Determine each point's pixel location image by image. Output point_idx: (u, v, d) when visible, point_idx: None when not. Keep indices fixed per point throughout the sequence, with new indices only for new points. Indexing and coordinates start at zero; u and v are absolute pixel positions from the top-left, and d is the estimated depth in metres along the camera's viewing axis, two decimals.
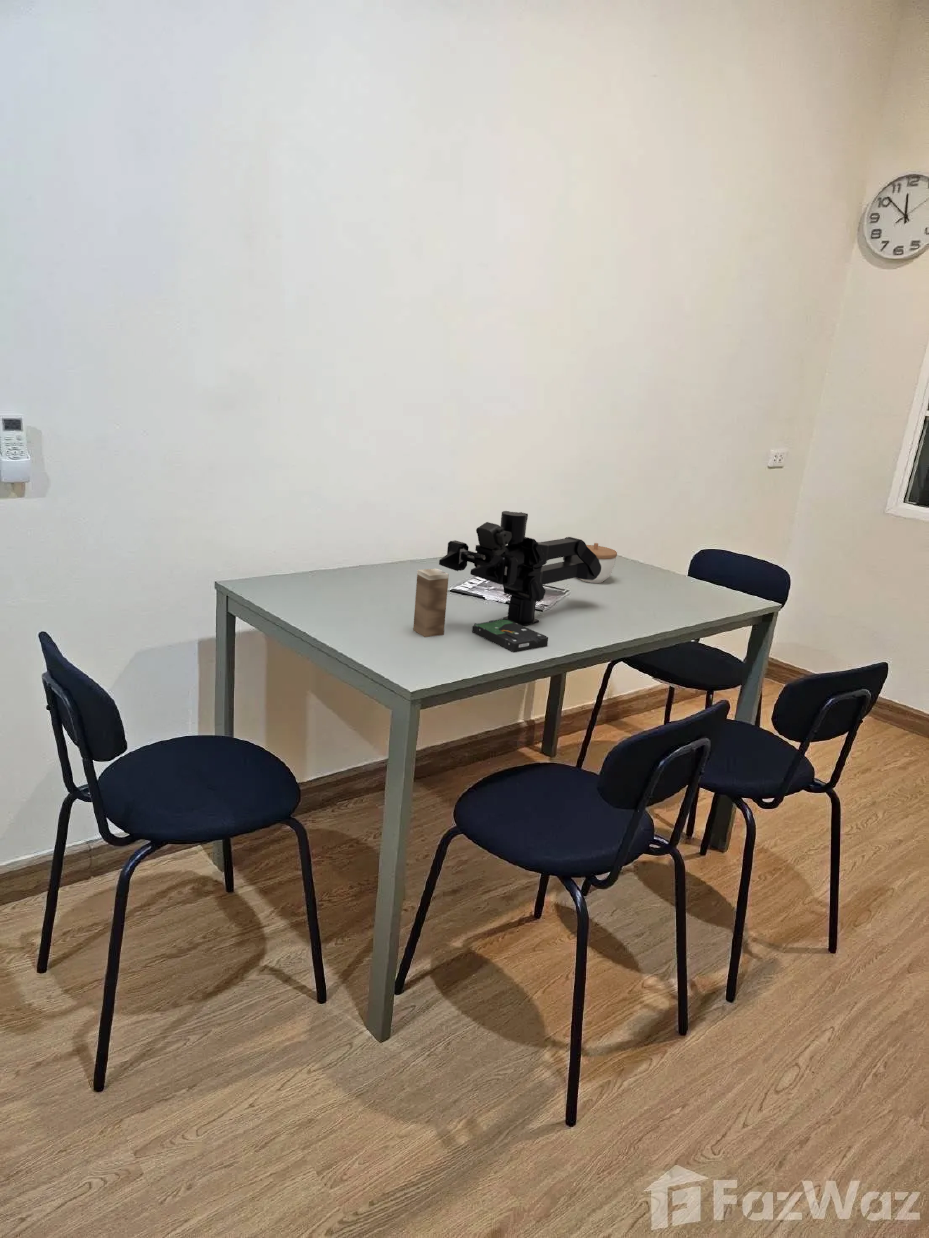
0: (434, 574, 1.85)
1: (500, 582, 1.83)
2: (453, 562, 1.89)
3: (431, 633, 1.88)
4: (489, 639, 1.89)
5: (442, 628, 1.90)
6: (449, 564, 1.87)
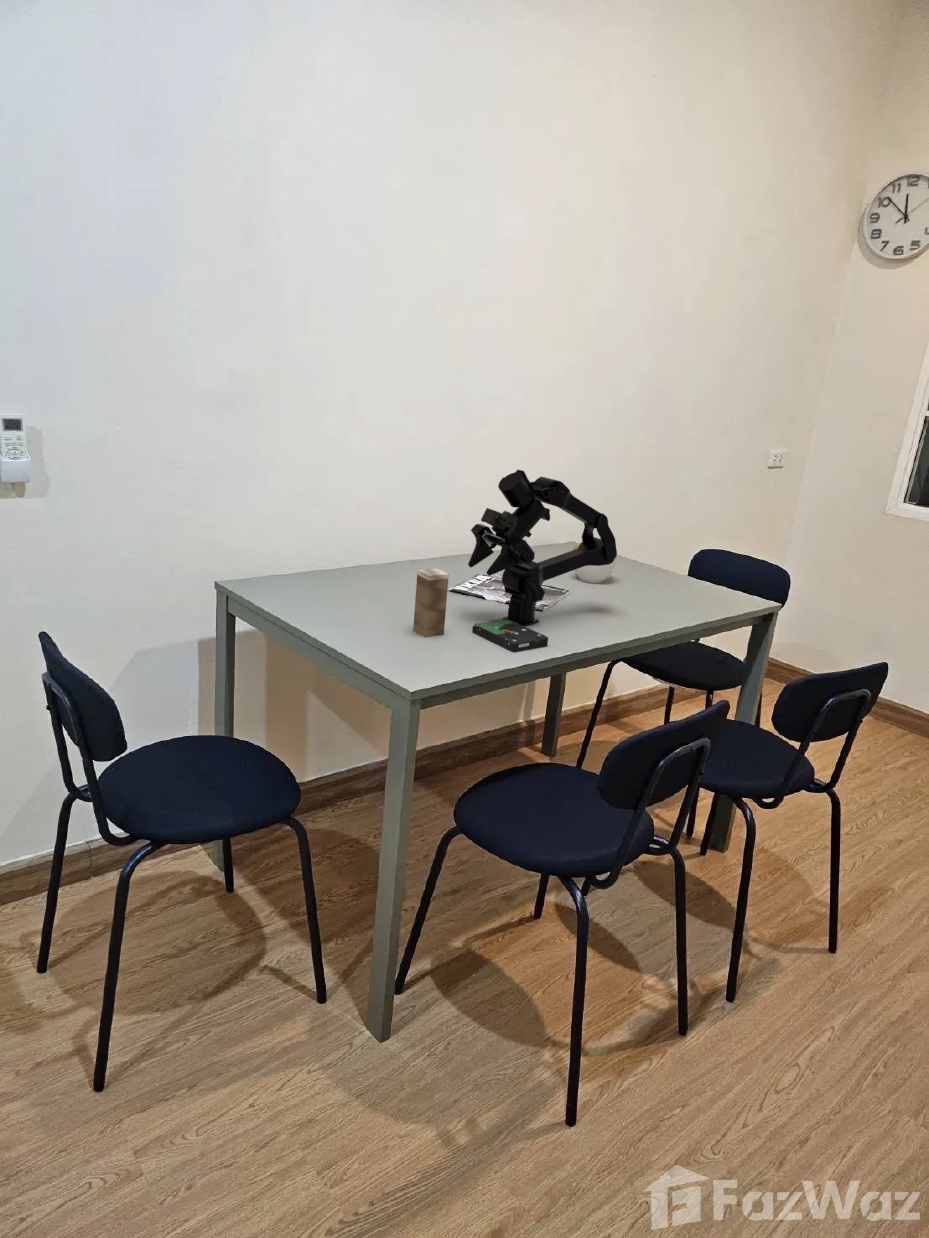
0: (434, 574, 1.85)
1: (519, 563, 1.91)
2: (483, 552, 1.98)
3: (431, 633, 1.88)
4: (489, 639, 1.89)
5: (442, 628, 1.90)
6: (480, 558, 1.98)
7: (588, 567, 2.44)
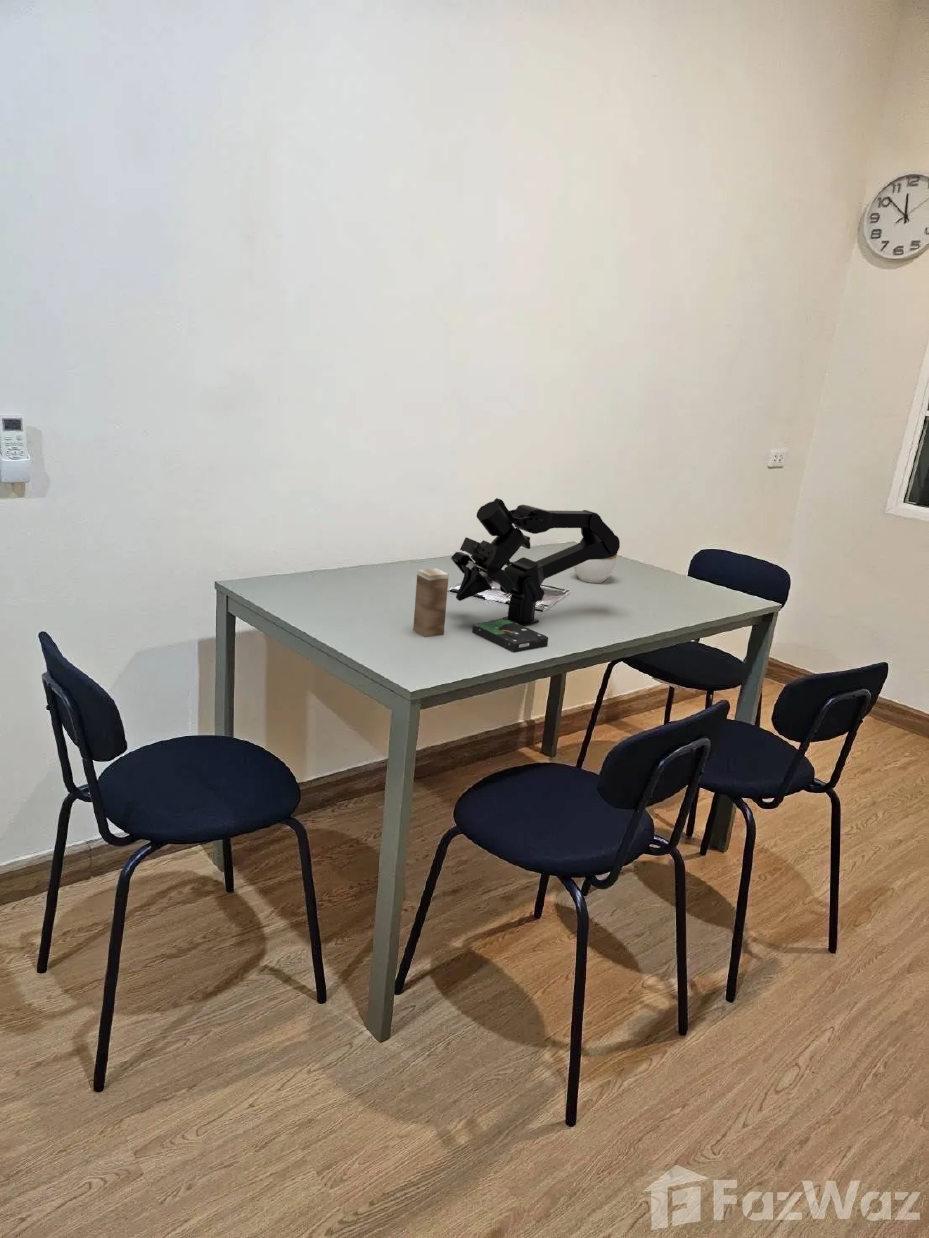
0: (434, 574, 1.85)
1: (489, 589, 1.93)
2: None
3: (431, 633, 1.88)
4: (489, 639, 1.89)
5: (442, 628, 1.90)
6: None
7: (588, 567, 2.44)
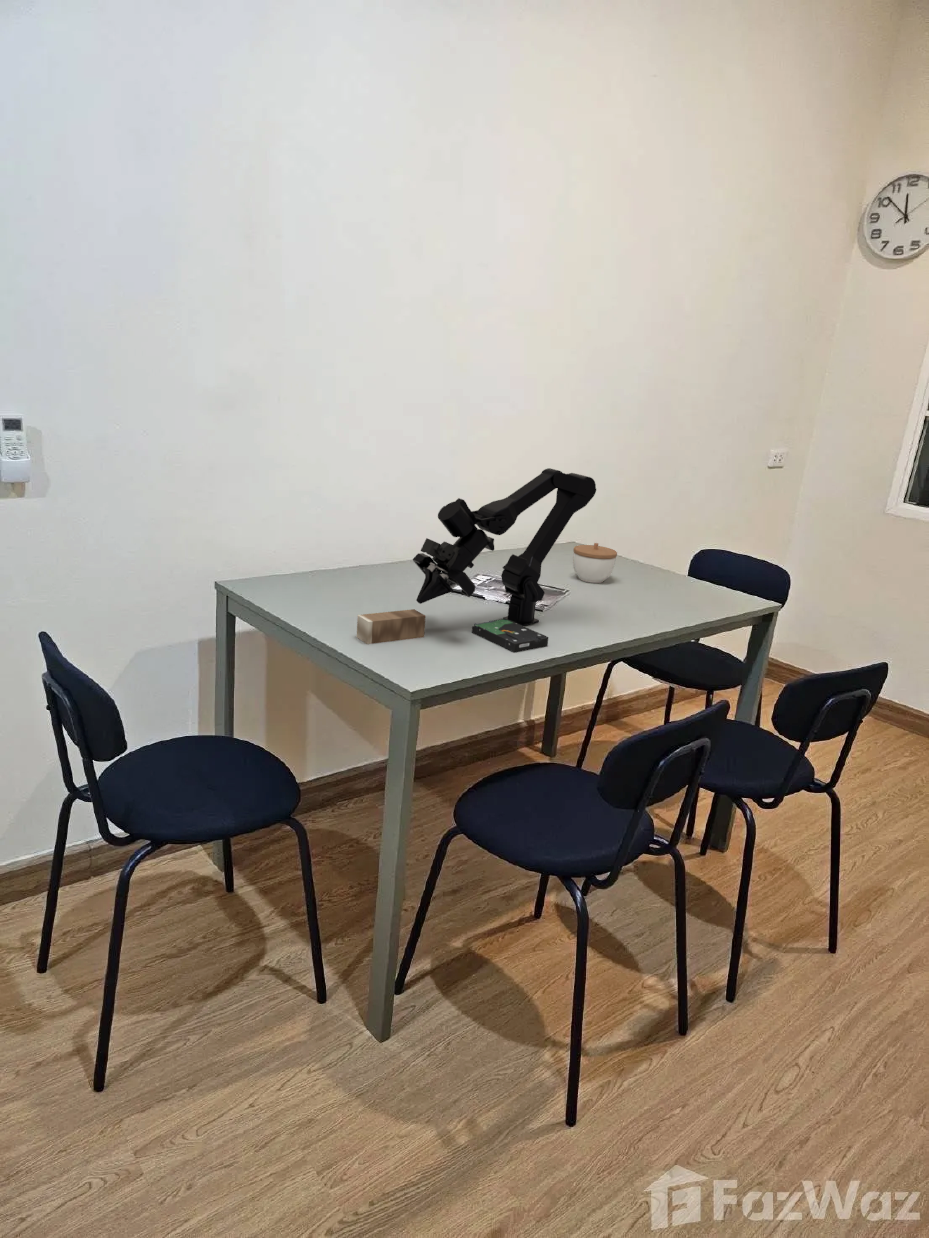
0: (366, 635, 1.80)
1: (451, 591, 1.87)
2: None
3: (421, 630, 1.87)
4: (489, 639, 1.89)
5: (419, 618, 1.85)
6: None
7: (588, 567, 2.44)
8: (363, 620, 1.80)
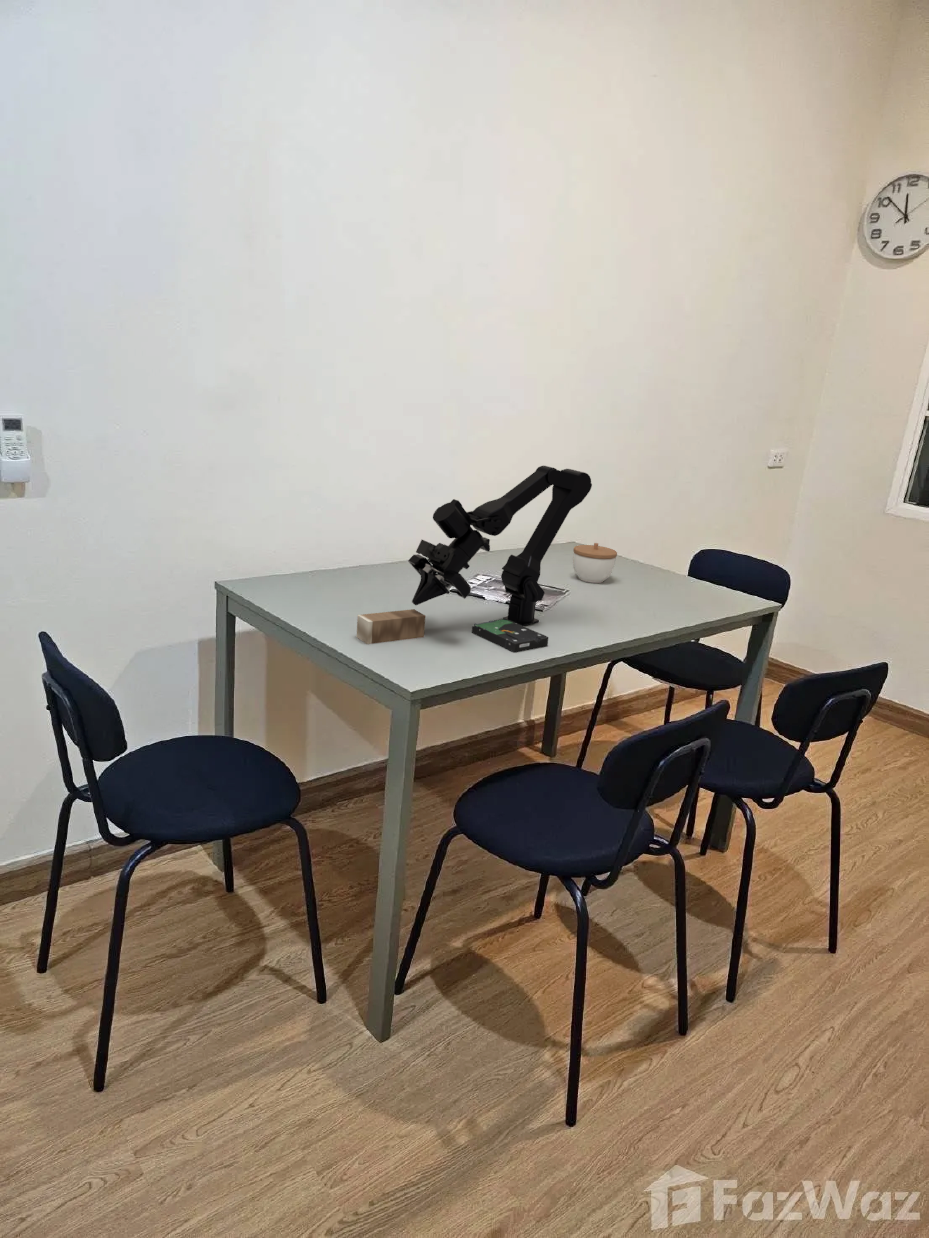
0: (366, 635, 1.80)
1: (446, 593, 1.87)
2: None
3: (421, 630, 1.87)
4: (489, 639, 1.89)
5: (419, 618, 1.85)
6: None
7: (588, 567, 2.44)
8: (363, 620, 1.80)
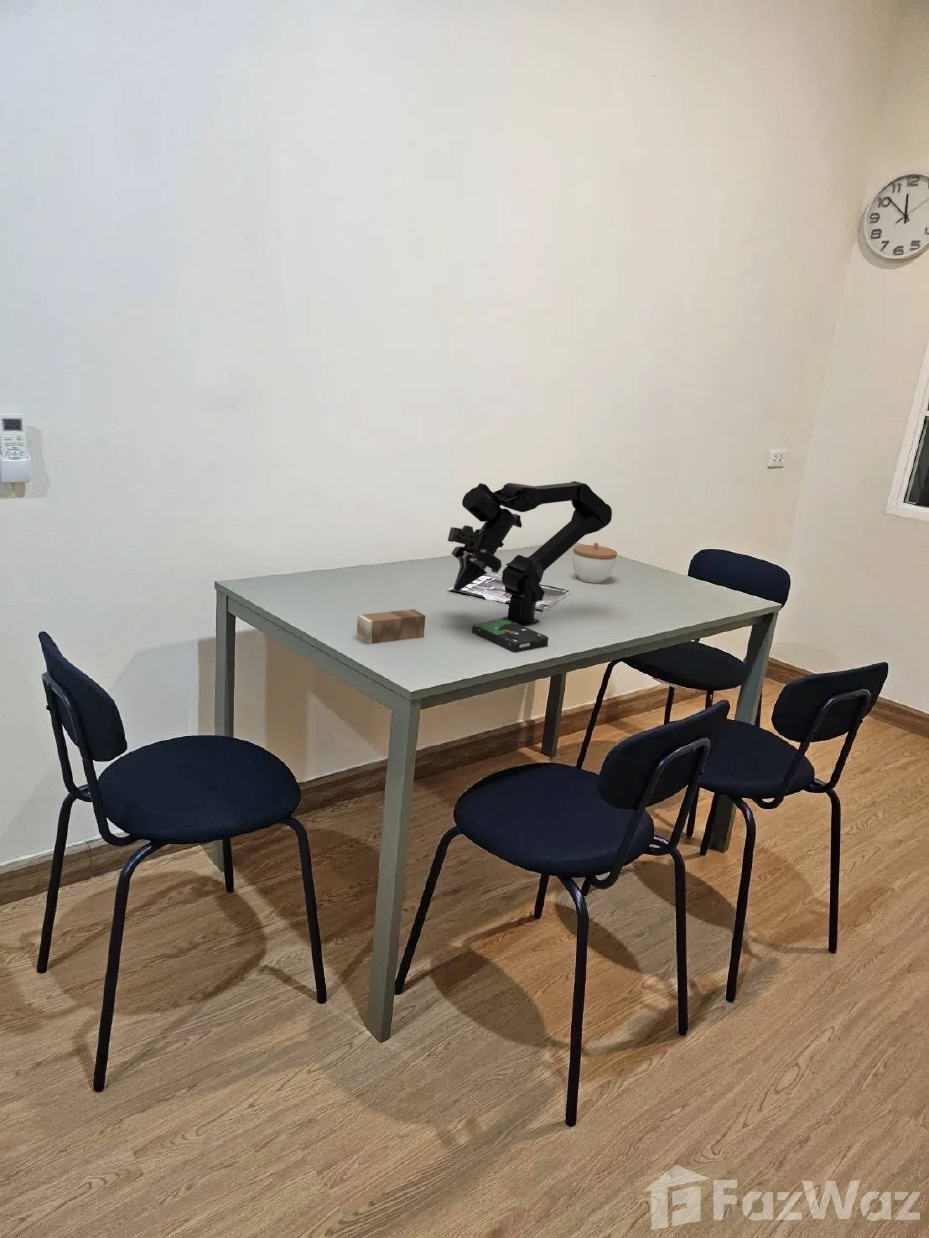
0: (366, 635, 1.80)
1: (484, 573, 1.90)
2: None
3: (421, 630, 1.87)
4: (489, 639, 1.89)
5: (419, 618, 1.86)
6: None
7: (588, 567, 2.44)
8: (363, 620, 1.80)
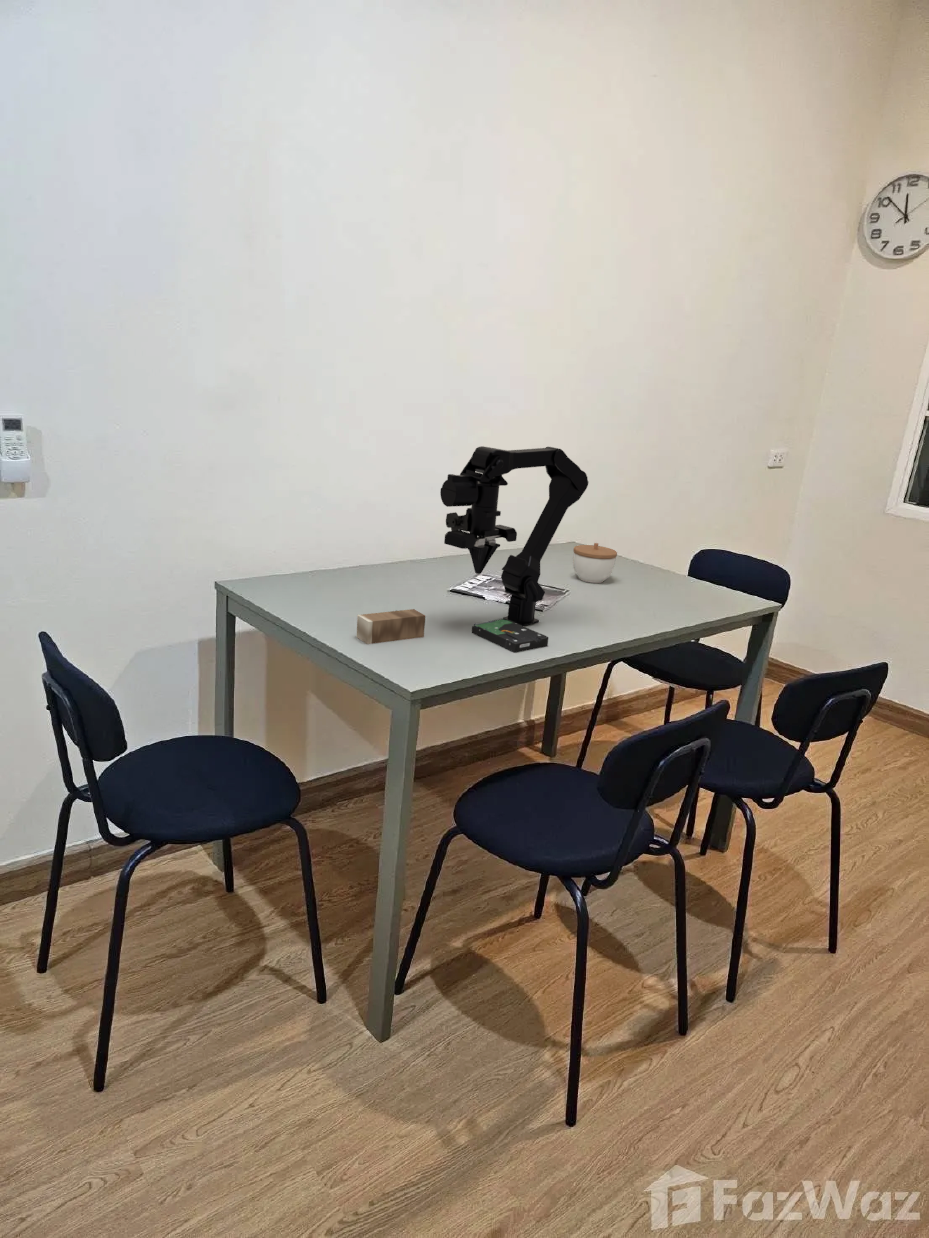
0: (366, 635, 1.80)
1: None
2: None
3: (421, 630, 1.87)
4: (489, 639, 1.89)
5: (419, 618, 1.86)
6: None
7: (588, 567, 2.44)
8: (363, 620, 1.80)
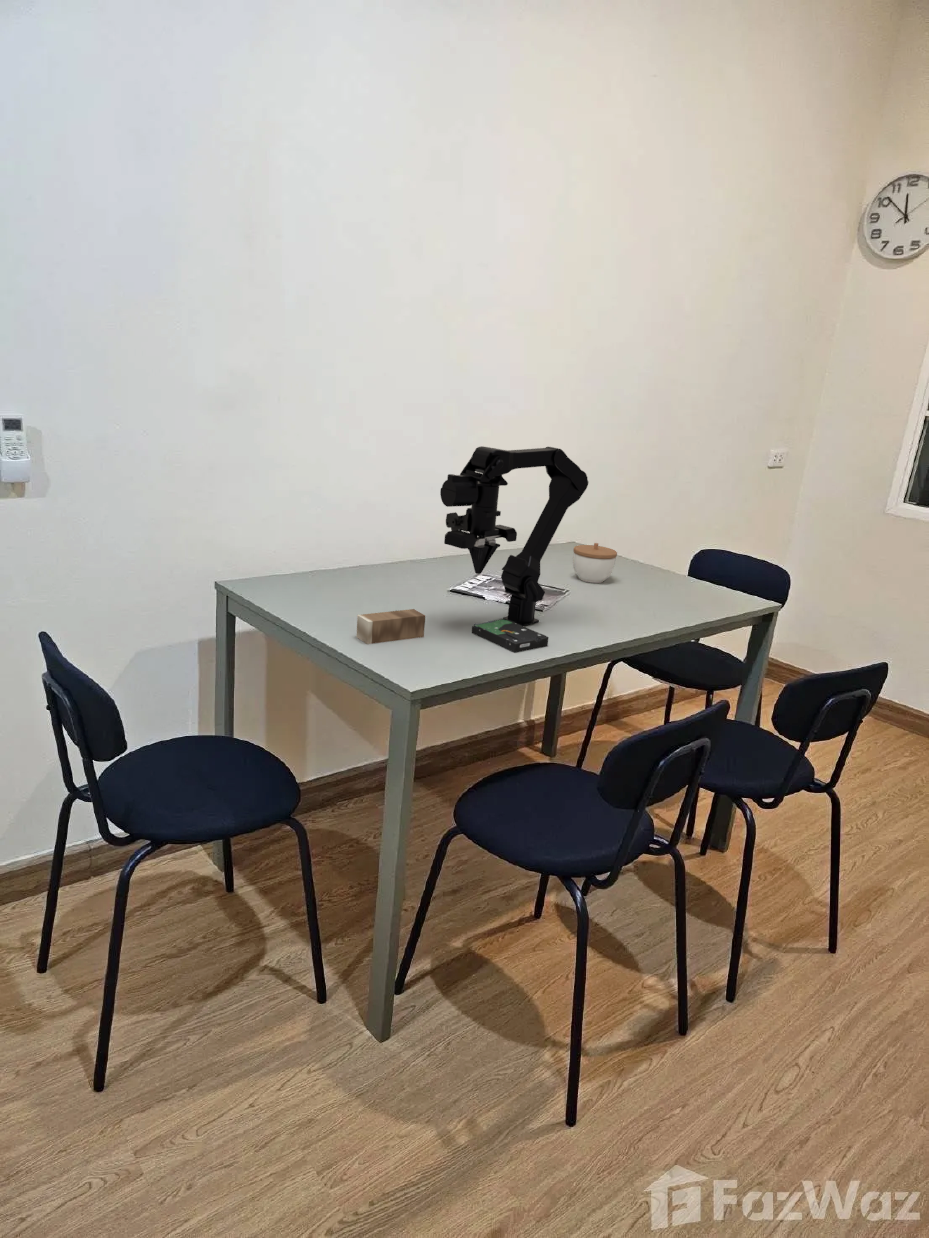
0: (366, 635, 1.80)
1: None
2: None
3: (421, 630, 1.87)
4: (489, 639, 1.89)
5: (419, 618, 1.86)
6: None
7: (588, 567, 2.44)
8: (363, 620, 1.80)
